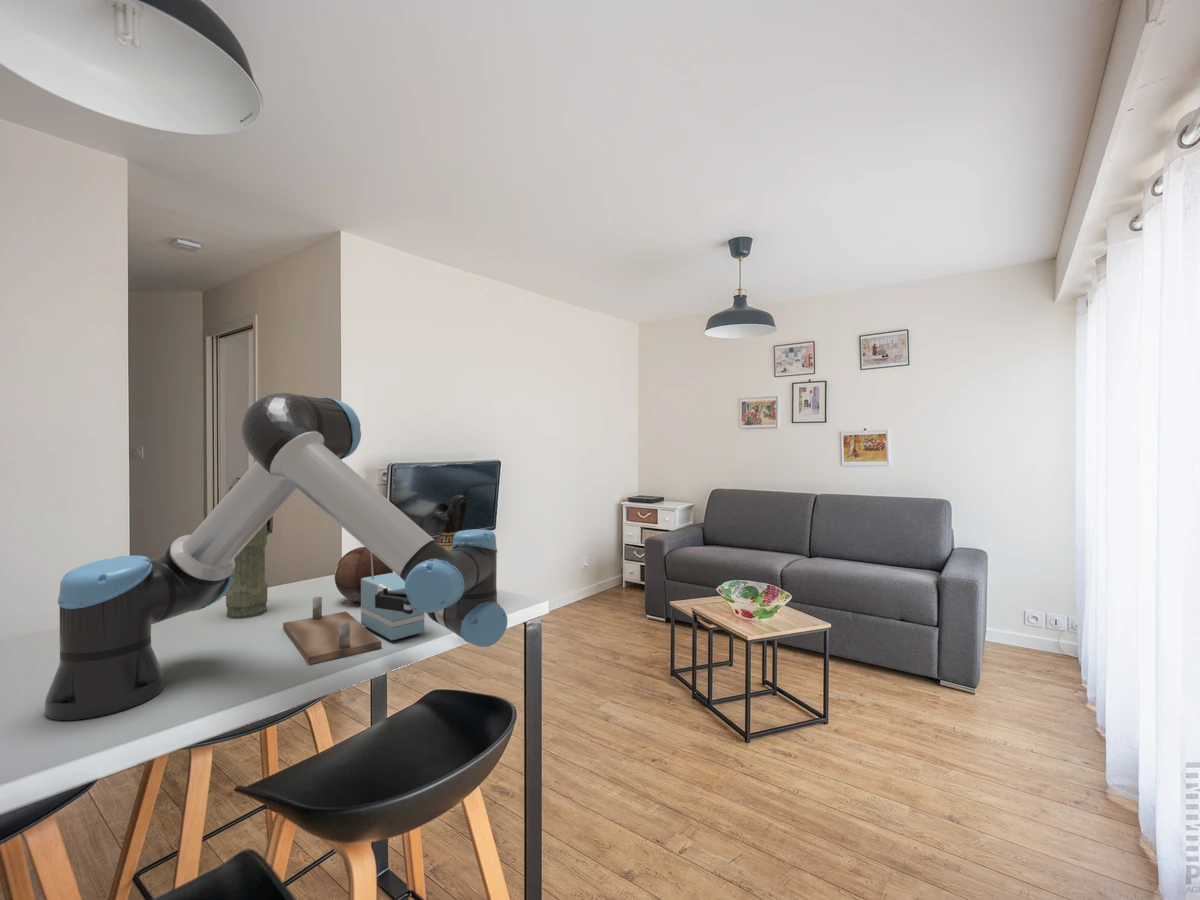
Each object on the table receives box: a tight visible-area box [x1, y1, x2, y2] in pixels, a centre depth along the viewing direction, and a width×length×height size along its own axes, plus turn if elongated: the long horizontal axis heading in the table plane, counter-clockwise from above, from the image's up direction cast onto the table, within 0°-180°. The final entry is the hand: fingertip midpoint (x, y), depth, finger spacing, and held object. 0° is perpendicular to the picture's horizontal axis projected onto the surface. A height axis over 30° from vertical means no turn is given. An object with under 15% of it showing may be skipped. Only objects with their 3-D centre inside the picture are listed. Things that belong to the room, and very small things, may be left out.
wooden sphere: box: [334, 546, 394, 603], centre depth 153 cm, size 15×15×15 cm
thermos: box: [225, 477, 274, 620], centre depth 141 cm, size 9×12×35 cm
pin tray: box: [282, 596, 382, 666], centre depth 124 cm, size 14×27×6 cm, turn 39°
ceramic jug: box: [433, 494, 468, 551], centre depth 149 cm, size 17×15×30 cm
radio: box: [360, 551, 425, 642], centre depth 129 cm, size 16×9×20 cm, turn 47°
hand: (410, 585), depth 121 cm, fingers open, 13 cm apart
